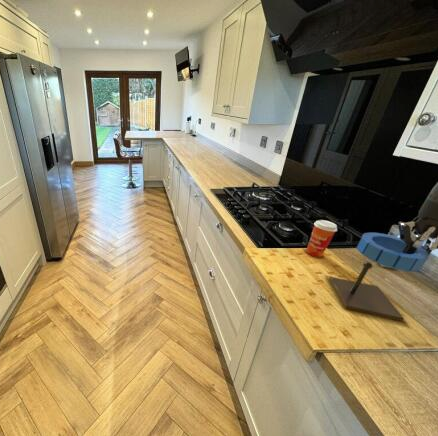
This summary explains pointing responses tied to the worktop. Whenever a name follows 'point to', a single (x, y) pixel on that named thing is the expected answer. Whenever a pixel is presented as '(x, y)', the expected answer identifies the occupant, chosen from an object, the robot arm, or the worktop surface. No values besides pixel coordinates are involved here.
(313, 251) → the paper cup
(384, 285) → the worktop surface
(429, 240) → the robot arm
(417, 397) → the worktop surface
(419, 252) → the blue notched ring
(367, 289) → the brown peg stand
